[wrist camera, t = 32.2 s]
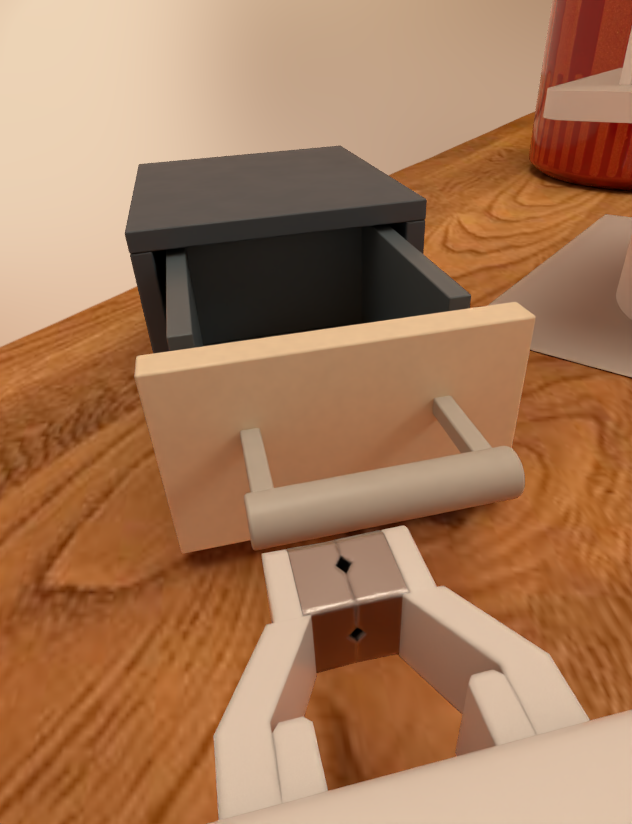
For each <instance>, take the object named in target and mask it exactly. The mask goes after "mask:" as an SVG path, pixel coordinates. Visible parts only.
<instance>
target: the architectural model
mask: <svg viewBox="0 0 632 824" xmlns="http://www.w3.org/2000/svg"><path fill="white" fill-rule="evenodd" d="M543 117H544V118H547V119H553V120H567V121H590V122H614V123H632V28H631V33H630V37H629V42H628V46H627V51H626V55H625V60H624V64H623V68H618V69H614V70H611V71H607V72H603V73H600V74H596V75H592V76H589V77H585V78H582V79H578V80H574V81H571V82H567V83H563V84H560V85H556V86H553V87H549V88H548V89H547V95H546V101H545V108H544V114H543ZM510 302H517V303H519V304H520V305H521V306H523V307H524V308H525V309H527V310H528V311H529V312H531V313H532V314H533V315H535V318H536V319H535V324H534V330H533V335H532V340H531V346H530V350H533V351H537V352H540V353H544V354H548V355H551V356H555V357H559V358H562V359H566V360H570V361H573V362H577V363H581V364H584V365H588V366H592V367H595V368H599V369H603V370H606V371H610V372H614V373H617V374H621V375H625V376H628V377H632V218H631V217H623V216H616V215H608V214H606V215H604V216H603V217H602V218H600V219H599V220H598V221H596V222H595V223H594V224H593V225H591V226H590V227H589V228H587V229H586V230H585V231H584V232H582V233H581V234H580V235H578V236H577V237H576V238H574V239H573V240H572V241H571V242H569V243H568V244H567V245H565V246H564V247H563V248H561V249H560V250H559V251H558V252H556V253H555V254H554V255H552V256H551V257H550V258H549V259H547V260H546V261H545V262H543V263H542V264H541V265H539V266H538V267H537V268H536V269H534V270H533V271H532V272H530V273H529V274H528V275H527V276H525V277H524V278H523V279H521V280H520V281H519V282H517V283H516V284H515V285H514V286H512V287H511V288H510V289H508V290H507V291H506V292H504V293H503V294H502V295H501V296H499V297H498V298H497V299H495V300H494V301H493V302H492V303H490V304H489V305H496V304H503V303H510ZM489 305H488V306H489Z"/></svg>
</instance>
